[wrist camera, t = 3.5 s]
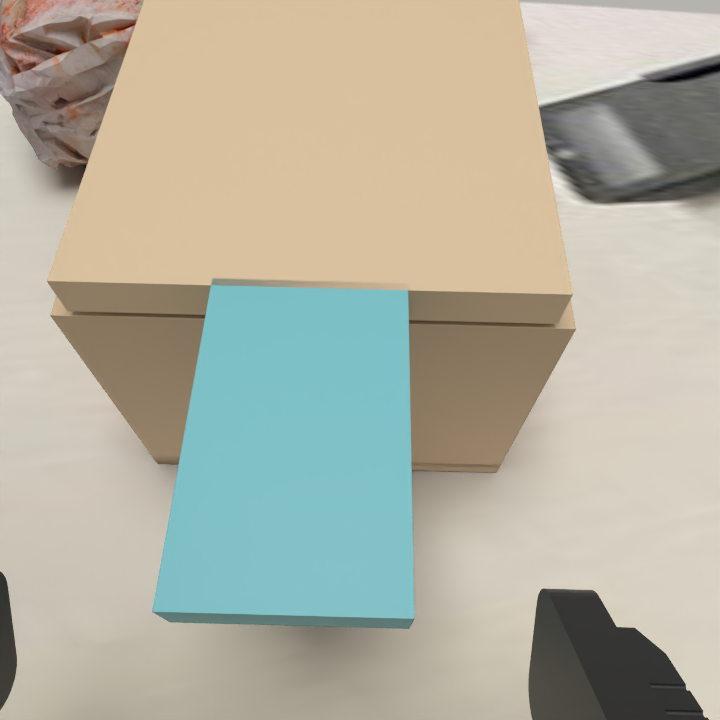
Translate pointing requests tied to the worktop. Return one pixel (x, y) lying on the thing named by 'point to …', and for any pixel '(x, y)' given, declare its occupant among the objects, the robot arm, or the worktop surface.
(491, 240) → the flap
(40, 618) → the worktop surface
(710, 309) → the worktop surface
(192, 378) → the carton
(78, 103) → the food item
